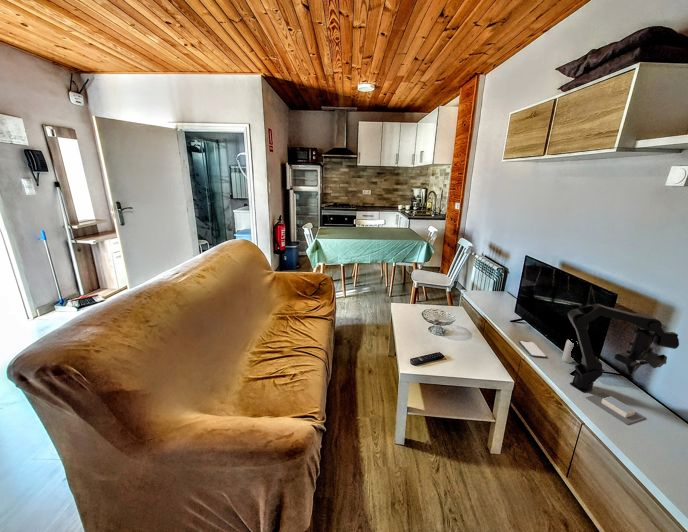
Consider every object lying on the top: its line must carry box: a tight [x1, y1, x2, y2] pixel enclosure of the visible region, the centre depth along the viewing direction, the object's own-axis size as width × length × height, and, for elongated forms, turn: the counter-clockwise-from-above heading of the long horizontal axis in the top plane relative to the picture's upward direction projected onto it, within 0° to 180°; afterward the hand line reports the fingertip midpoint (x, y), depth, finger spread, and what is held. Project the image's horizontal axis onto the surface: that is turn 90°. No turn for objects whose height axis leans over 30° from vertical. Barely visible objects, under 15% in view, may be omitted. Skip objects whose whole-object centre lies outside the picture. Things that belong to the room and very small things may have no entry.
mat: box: [585, 392, 647, 425], centre depth 129 cm, size 16×12×1 cm
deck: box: [601, 396, 637, 418], centre depth 128 cm, size 9×2×6 cm
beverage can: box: [561, 338, 574, 364], centre depth 162 cm, size 5×5×12 cm
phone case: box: [518, 340, 548, 359], centre depth 173 cm, size 9×2×16 cm
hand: (630, 373), depth 134 cm, fingers closed
